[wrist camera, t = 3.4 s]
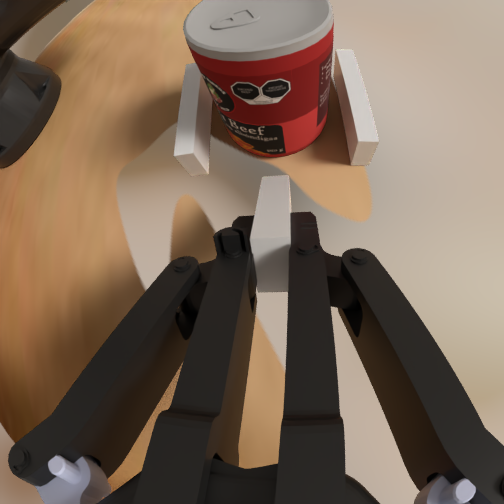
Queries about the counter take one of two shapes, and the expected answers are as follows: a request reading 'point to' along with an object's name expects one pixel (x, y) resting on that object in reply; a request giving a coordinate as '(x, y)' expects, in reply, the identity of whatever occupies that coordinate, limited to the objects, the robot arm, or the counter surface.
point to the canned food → (265, 68)
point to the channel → (200, 111)
